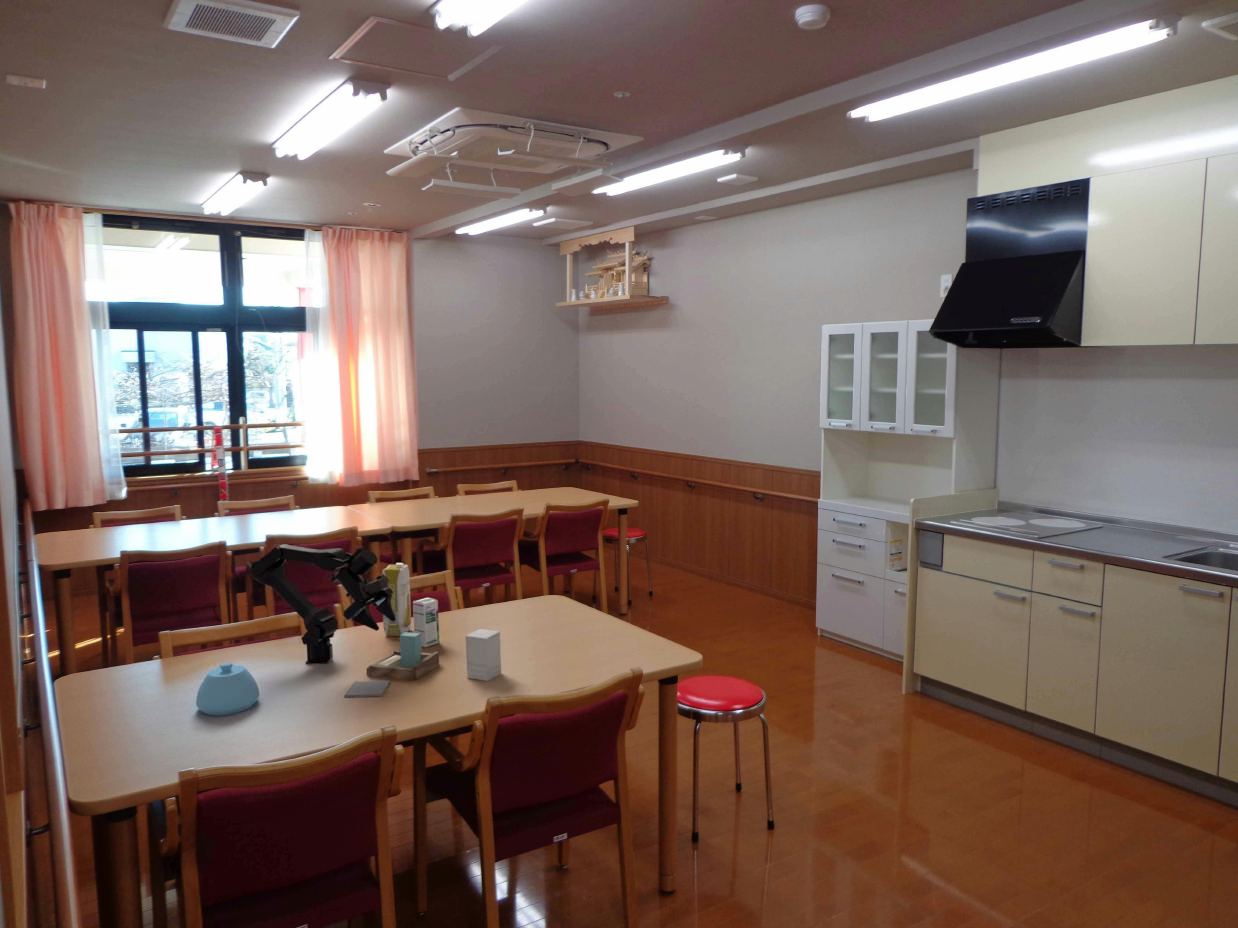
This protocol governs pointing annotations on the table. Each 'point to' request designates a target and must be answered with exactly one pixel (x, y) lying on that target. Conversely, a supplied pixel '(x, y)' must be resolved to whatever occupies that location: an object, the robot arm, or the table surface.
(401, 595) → the juice carton
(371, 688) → the grey mat
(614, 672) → the table surface
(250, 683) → the sugar bowl
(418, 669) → the walnut tray
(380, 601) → the robot arm
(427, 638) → the syrup box
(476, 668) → the supplement box
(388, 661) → the offcut stack
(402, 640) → the teal board
